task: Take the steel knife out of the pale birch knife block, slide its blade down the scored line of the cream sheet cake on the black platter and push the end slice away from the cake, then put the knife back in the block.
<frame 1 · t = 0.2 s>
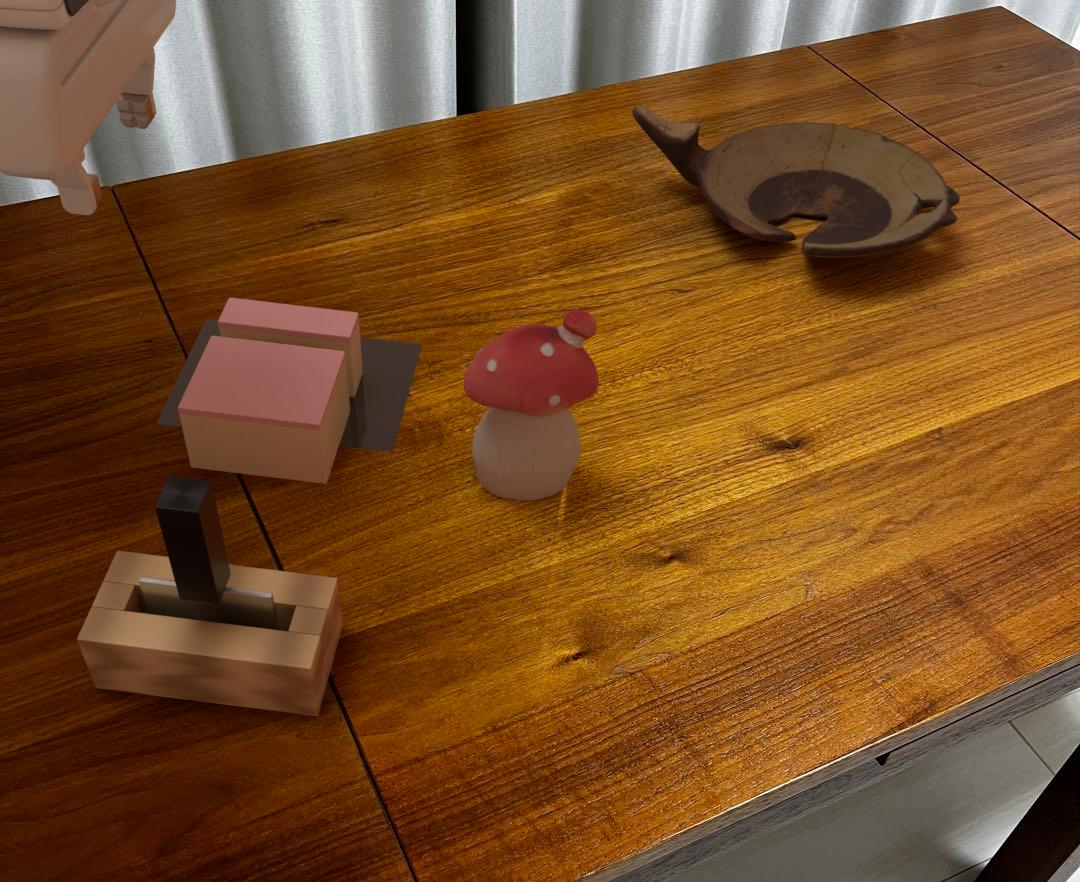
hand: (113, 163, 71), 24 cm above the table, tool pointing down, fingers open, 8 cm apart
cake: (273, 439, 89), point 1 cm above the table, touching cake board
knife block: (224, 665, 77), on the table
cake slice: (296, 377, 94), point 1 cm above the table, touching cake board
knife: (222, 656, 76), point 1 cm above the table, touching knife block
cake board: (287, 411, 93), on the table
broken brown bowl: (788, 213, 115), on the table
decorative ornament: (523, 479, 90), on the table
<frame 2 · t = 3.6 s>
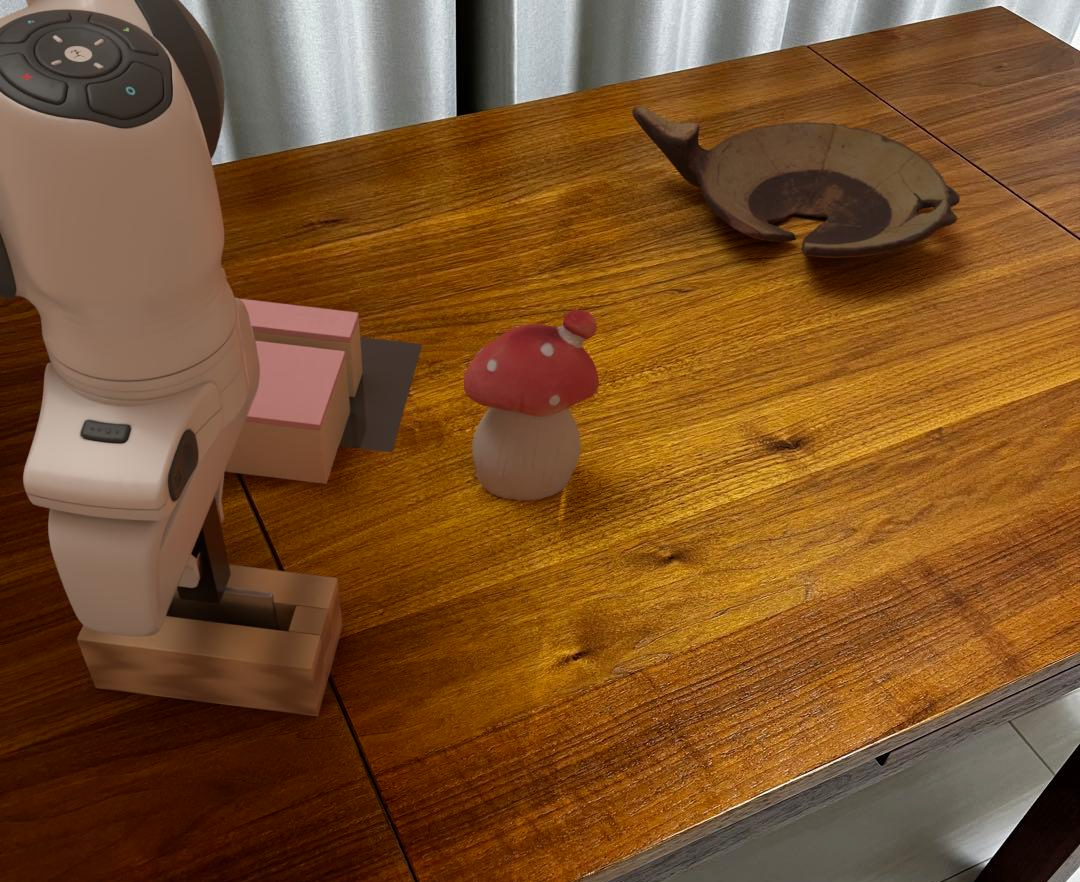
hand: (196, 552, 68), 11 cm above the table, tool pointing down, fingers closed on knife, 2 cm apart
knife: (222, 656, 76), point 1 cm above the table, touching gripper, knife block
everything else where it was.
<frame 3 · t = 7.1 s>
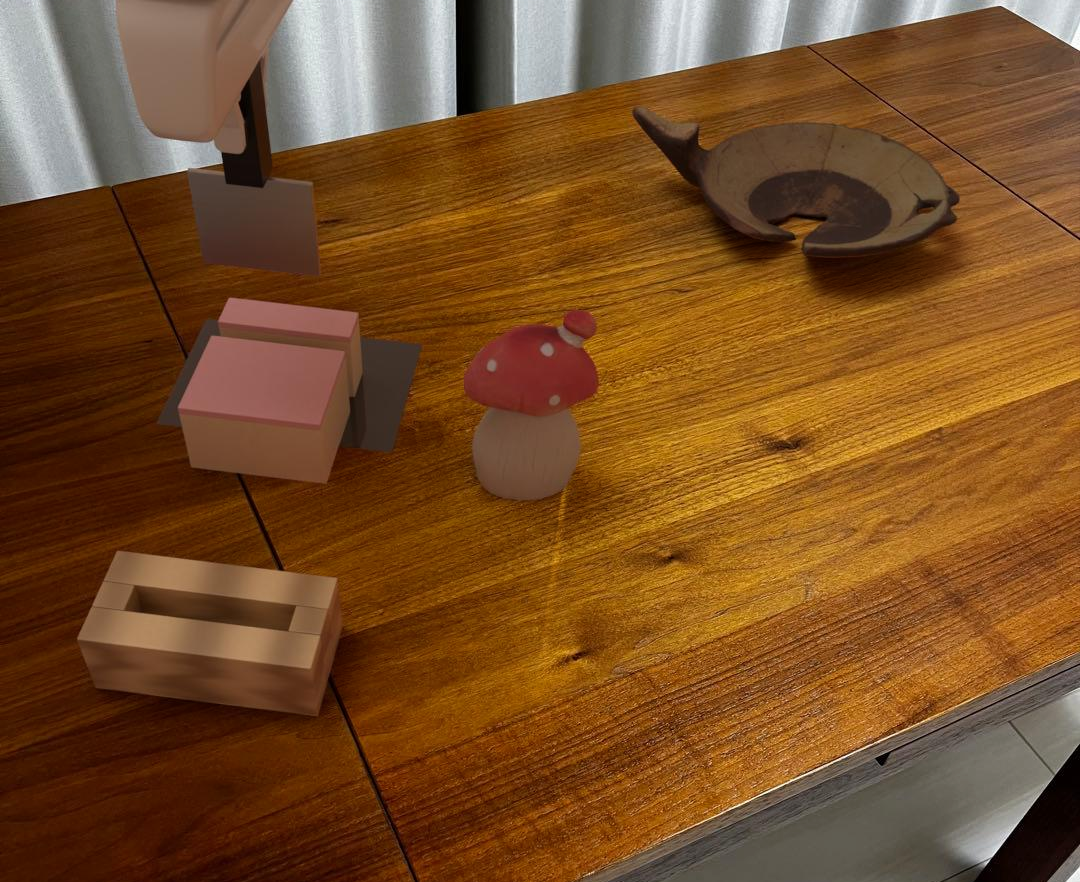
hand: (242, 131, 73), 25 cm above the table, tool pointing down, fingers closed on knife, 2 cm apart
knife: (262, 268, 81), point 15 cm above the table, touching gripper
everything else where it was.
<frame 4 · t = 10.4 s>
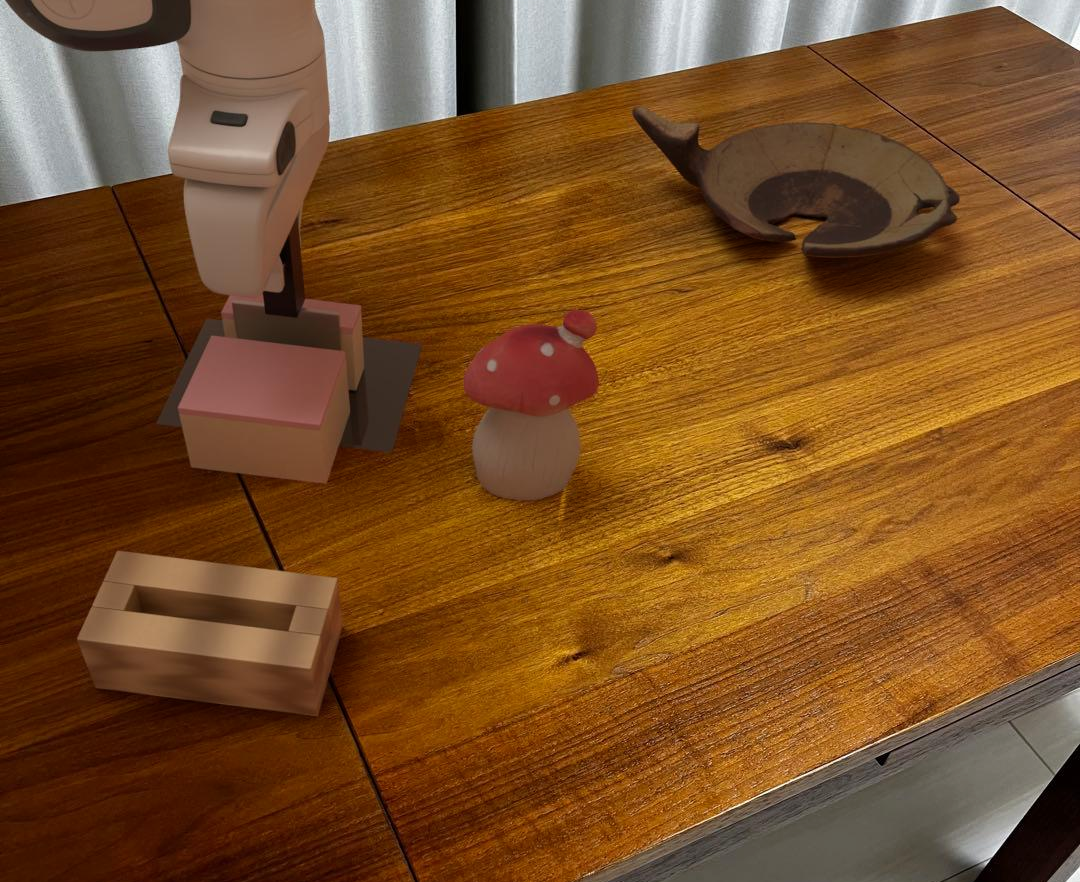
hand: (280, 270, 86), 11 cm above the table, tool pointing down, fingers closed on knife, 2 cm apart
cake slice: (298, 371, 94), point 1 cm above the table, touching knife
knife: (293, 382, 93), point 1 cm above the table, touching cake slice, gripper
everything else where it was.
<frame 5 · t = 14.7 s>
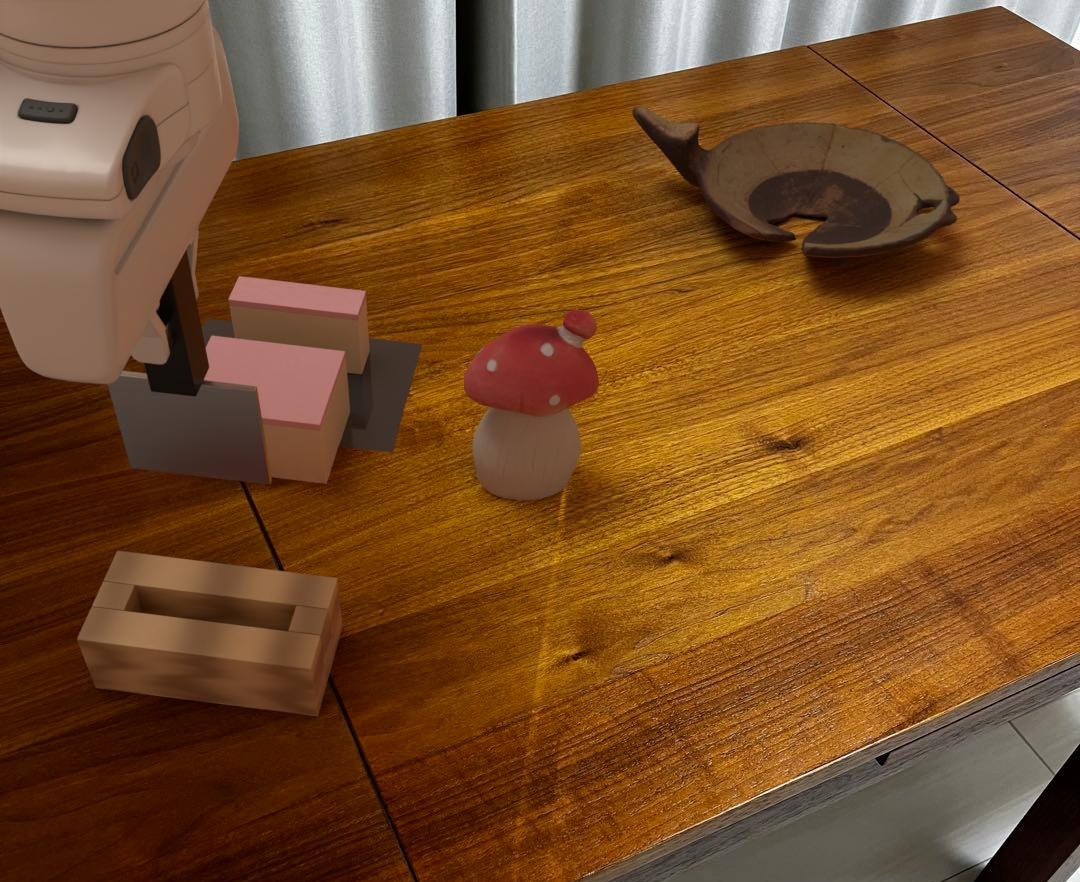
hand: (167, 330, 60), 25 cm above the table, tool pointing down, fingers closed on knife, 2 cm apart
cake slice: (304, 355, 96), point 1 cm above the table, touching cake board
knife: (201, 474, 67), point 15 cm above the table, touching gripper
everything else where it was.
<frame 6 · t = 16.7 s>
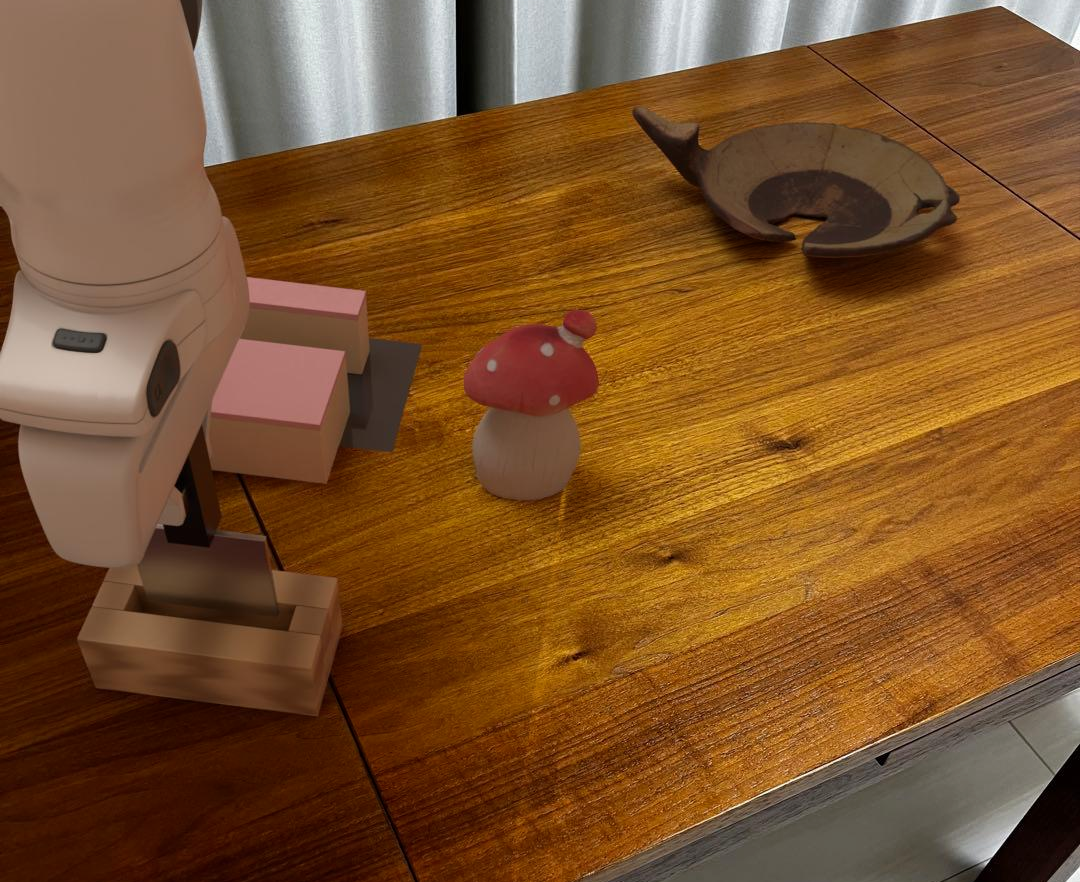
hand: (183, 490, 64), 16 cm above the table, tool pointing down, fingers closed on knife, 2 cm apart
knife: (213, 607, 72), point 6 cm above the table, touching gripper
everything else where it was.
when the fingers open (11 cm above the table, at t = 18.1 s): knife stays where it is, resting on knife block.
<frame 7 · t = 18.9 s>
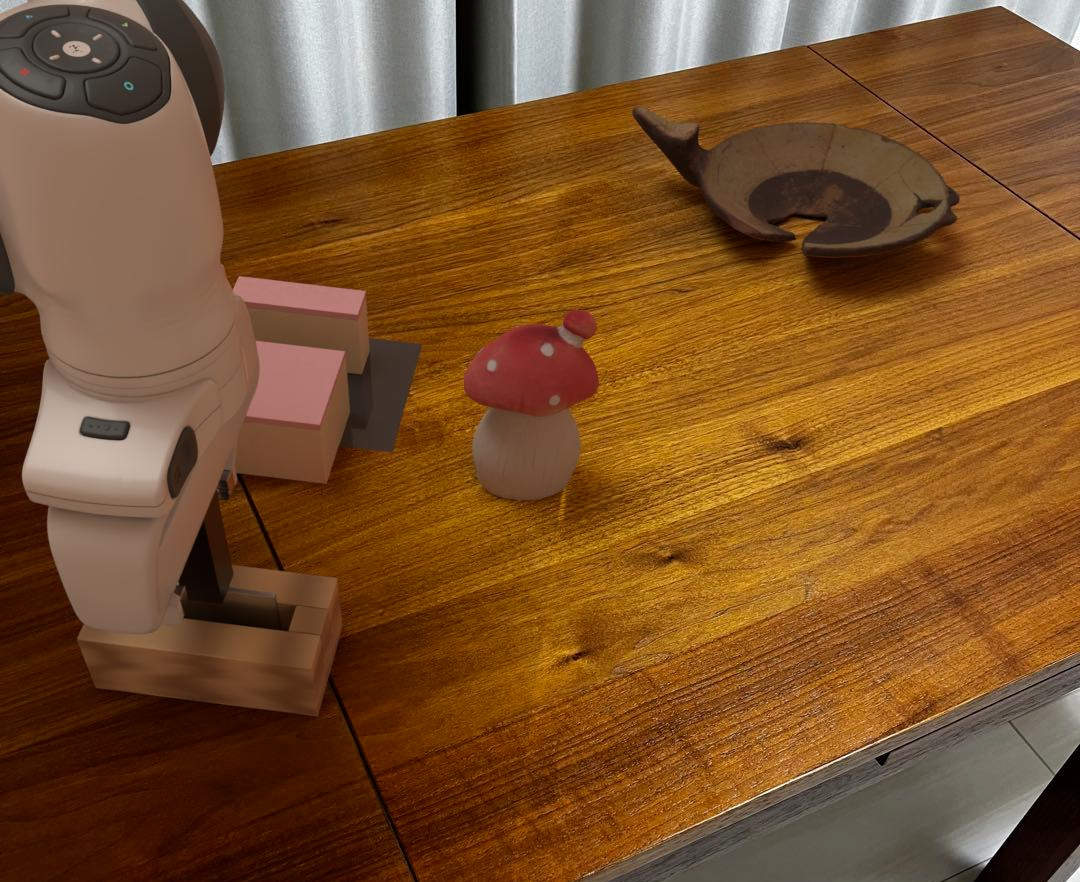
hand: (196, 550, 68), 11 cm above the table, tool pointing down, fingers open, 8 cm apart
knife: (225, 655, 76), point 1 cm above the table, touching knife block
everything else where it was.
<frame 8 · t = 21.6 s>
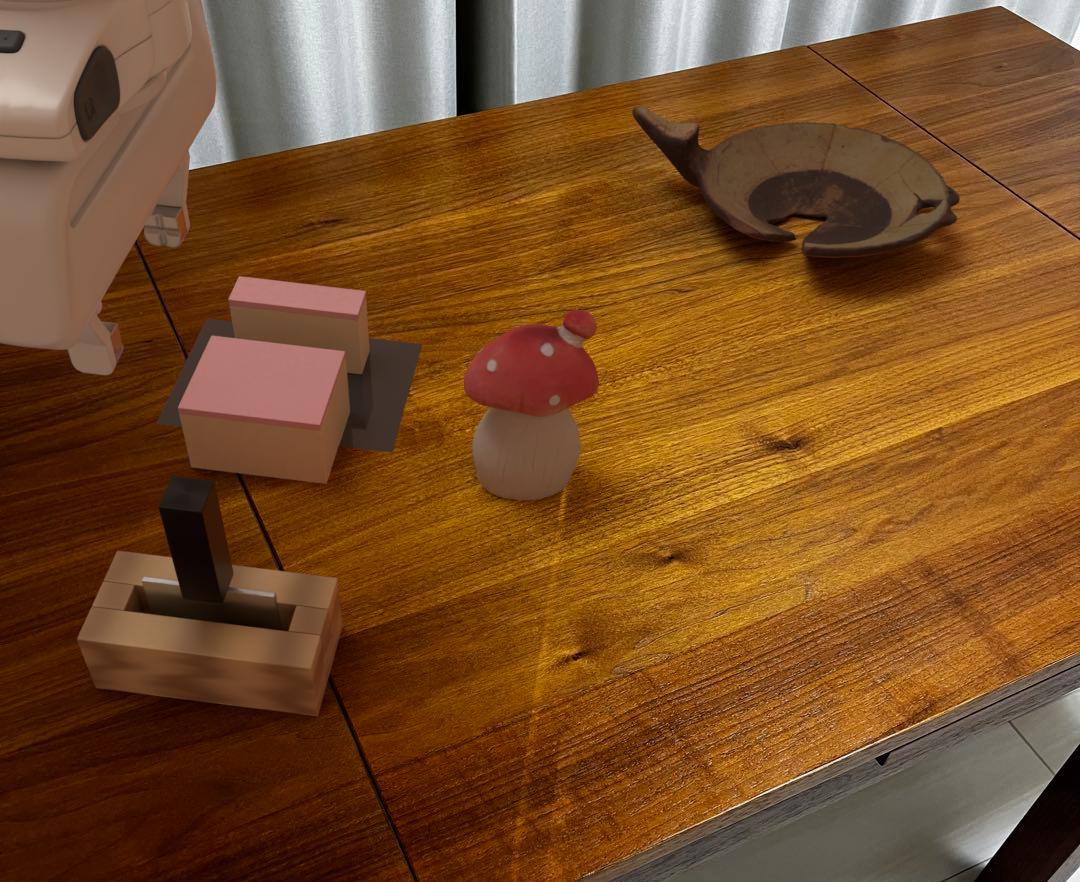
hand: (136, 297, 55), 29 cm above the table, tool pointing down, fingers open, 8 cm apart
nothing on the table moved.
at the end: cake slice moved 2.7 cm from its start; cake moved 0.0 cm from its start; knife 0.2 cm off-centre on the knife block, point 1.0 cm above the knife block's base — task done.
